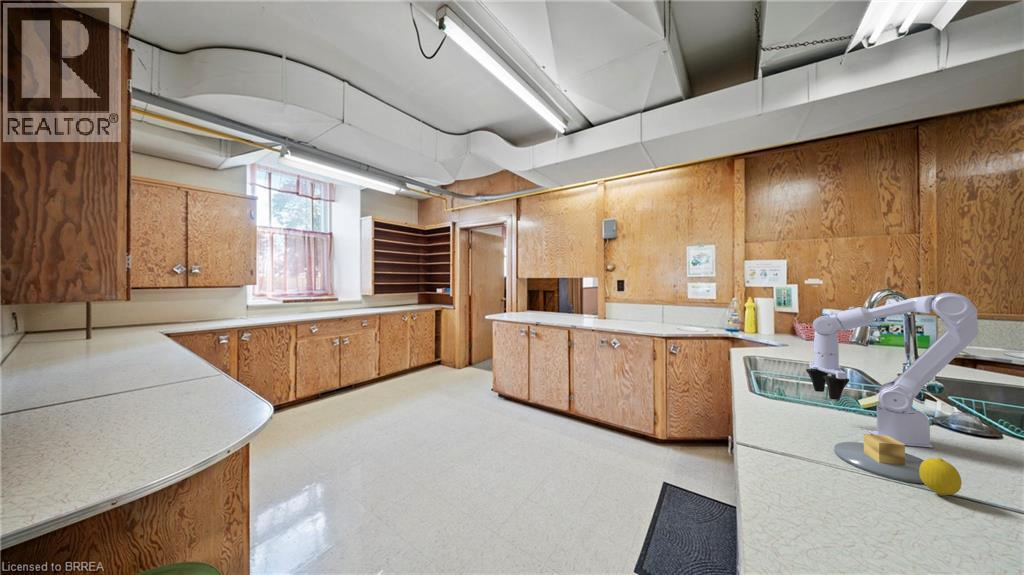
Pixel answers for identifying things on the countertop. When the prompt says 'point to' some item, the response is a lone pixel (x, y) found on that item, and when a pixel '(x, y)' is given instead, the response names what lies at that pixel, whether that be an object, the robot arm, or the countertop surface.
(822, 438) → the countertop surface
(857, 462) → the plate
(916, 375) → the robot arm
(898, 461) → the cube
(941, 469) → the lemon
